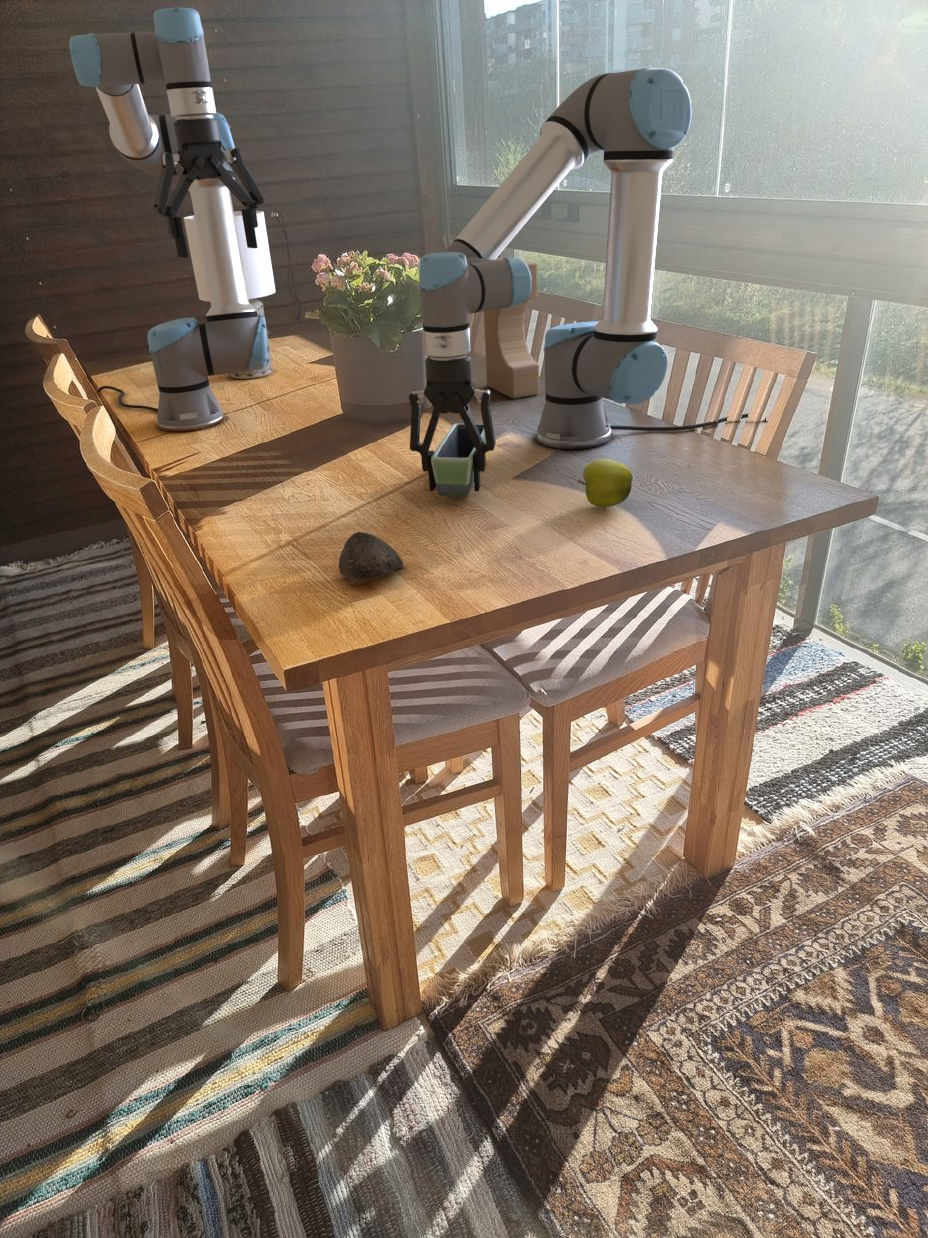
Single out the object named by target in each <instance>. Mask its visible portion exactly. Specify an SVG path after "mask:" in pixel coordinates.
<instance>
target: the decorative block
mask: <svg viewBox="0 0 928 1238" xmlns="http://www.w3.org/2000/svg"><path fill="white" fill-rule="evenodd" d="M503 258H504V257H499V258H498V257H497V258H496V259H495V260H498V259H503ZM505 258H509V257H507V256H506V257H505ZM523 261H524V262H525V263H526V264H527V266H528V268H529V270H530V273H531V278H532V280H531V282H532V283H531V285H532V288H531V293H530V295H529V297H528V299H527V300H526V301H525V302H524V303H522V304H520V305H516V306H513V307H510V308H501V309H495V310H489V311H483V325H484V343H485V344H484V347H485V348H484V349H485V371H486V385H487V387H488V388H491V389H493V390H494V391H497V392H498V393H500V394H502V395H505V396H506V397H508V398H511V399H519V398H524V397H531V396H536V395H539V394H540V364H539V363H538V362H537V361H535V359H534V358H533V357H532V355H531V353H530V351H529V348H528V345H527V341H526V335H525V314H526V309H527V306H528V303H529V302H530V301H531V300H532V299H537V298H538V296H539V292H538V290H539V289H538V285H539V284H538V283H539V282H538V264H537V263H536V262H531V261H526V260H523Z"/></svg>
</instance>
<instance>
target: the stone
mask: <svg viewBox="0 0 928 1238" xmlns="http://www.w3.org/2000/svg"><path fill="white" fill-rule="evenodd" d="M404 568H405V565H404V561H403V559H402V558H401V556H400V554H399V553H398V552H397V551H396V550H395V548H393V546H392V545H390V544H389V543H388V542H386V541H384V540H383V539H382V538H380V537H377V536H376V535H374V534H370V533H368V532H364V531H363V532H362V531H357V532H355V533H353V534H351V535H350V536H349V538H348V539H347V540H346V541H345V543H344V545H343V547H342V550H341V552H340V555H339V558H338V570H339V573H340V574H341V575H342V576H343V577H344V578H345V579H346V581H347V582H348V583H350V584H352V585H354V586H362V585H364V584H366V583H369V582H372V581H374V580H375V581H376V580H377V579H382V578H383V579H384V578H386V577H387V578H388V577H389V576H391V575H392V574H393V573H394V572H398V571H401V570H403V569H404Z"/></svg>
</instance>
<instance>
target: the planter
mask: <svg viewBox="0 0 928 1238" xmlns="http://www.w3.org/2000/svg"><path fill="white" fill-rule="evenodd" d="M476 426H477V428H478V430H479V433H480V435H481V437H482V439H483V442H484V443H486V438H485V432H484V426H483V423H476ZM475 450H476V449H475V447H474V444H473V442H472V440H471V438H470V435H469V433H468V431H467V428H466V426H465V424H464V423H454V424H452V426H451V427H450V429H449V430H448V432H447V433H446V435H445V436H444V437H443V439H442V440H441V442H440V444H439V445H438V446H437V447H436V449H435V450H434V454H433V455H432V457H431V463H432V468H433V473H434V477H435V482H436V490H437V494H438V496H440V497H458V498H459V497H461V498H462V497H465V498H466V497H468V495H470V492H471V490H472V488H473V487H474V471H473V454H474V451H475Z"/></svg>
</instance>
